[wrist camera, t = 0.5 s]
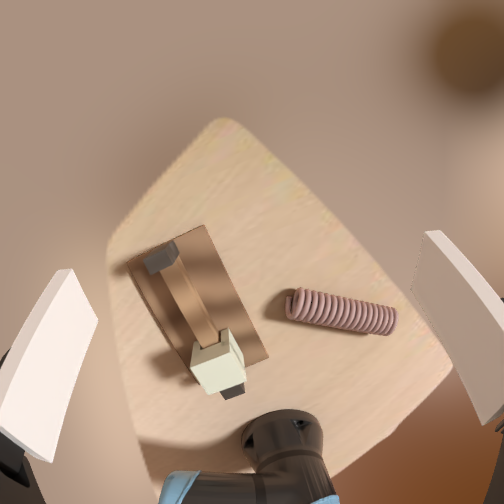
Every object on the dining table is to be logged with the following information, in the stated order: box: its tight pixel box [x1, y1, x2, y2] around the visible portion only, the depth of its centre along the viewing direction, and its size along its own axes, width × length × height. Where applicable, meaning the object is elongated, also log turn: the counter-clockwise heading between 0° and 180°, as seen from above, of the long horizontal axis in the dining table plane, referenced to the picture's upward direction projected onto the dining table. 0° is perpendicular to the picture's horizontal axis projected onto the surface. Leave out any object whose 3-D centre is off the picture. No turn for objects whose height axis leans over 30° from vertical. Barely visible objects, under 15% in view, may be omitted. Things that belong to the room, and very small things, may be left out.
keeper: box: [190, 328, 247, 395], centre depth 40 cm, size 5×6×7 cm
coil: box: [285, 287, 398, 336], centre depth 43 cm, size 5×5×18 cm
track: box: [127, 225, 269, 400], centre depth 40 cm, size 22×12×7 cm, turn 24°
